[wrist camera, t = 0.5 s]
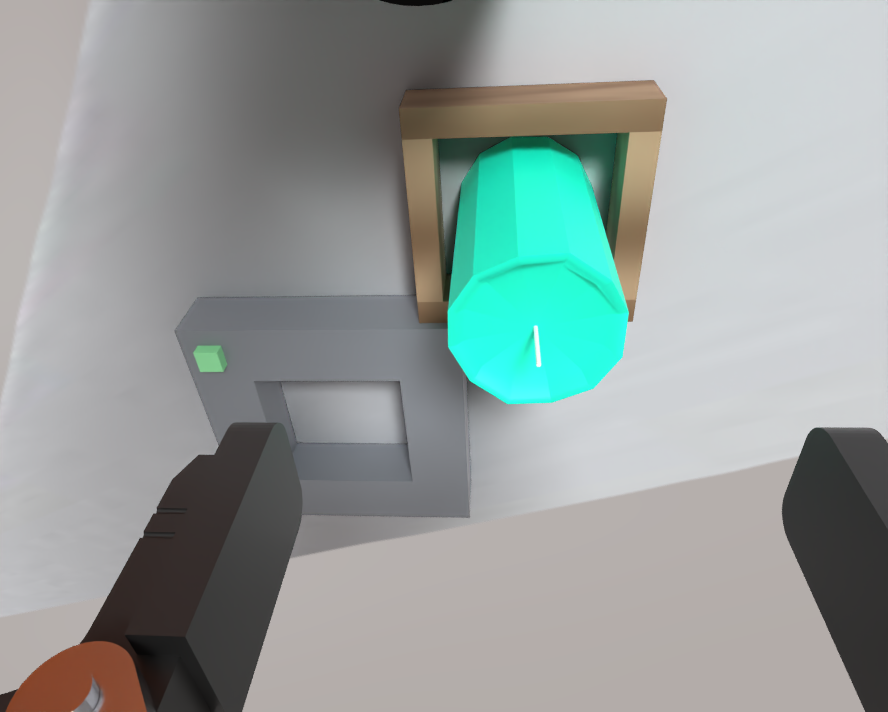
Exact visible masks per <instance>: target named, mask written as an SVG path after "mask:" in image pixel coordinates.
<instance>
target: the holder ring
mask: <svg viewBox="0 0 888 712" xmlns="http://www.w3.org/2000/svg"><path fill="white" fill-rule="evenodd" d="M666 102H667V98H666V97H665V95H664V94H663V92H662V91H661V90H660V88H659V87H658V85H657V84H656V83H655V81H654V80H648V81H622V82H597V83H572V84H546V85H521V86H496V87H470V88H445V89H419V90H406V91H405V94H404V97H403V99H402V102H401V104H400V107H399V116H400V127H401V137H402V148H403V158H404V168H405V179H406V189H407V200H408V210H409V221H410V231H411V241H412V252H413V262H414V273H415V283H416V294H417V304H418V315H419V323H448V304H449V295H450V285H451V276H452V274H446V262H445V246H444V229H443V213H442V197H441V180H440V164H439V147H438V139H445V138H475V137H506V136H536V135H567V134H597V133H617V141H616V150H615V159H614V168H613V177H612V186H611V195H610V204H609V213H608V222H607V231H606V236H607V239H608V243H609V246H610V250H611V253H612V257H613V260H614V263H615V267H616V270H617V274H618V277H619V280H620V284H621V287H622V291H623V294H624V298H625V301H626V304H627V308H628V311H629V315H628V322H631V321H633V316H634V309H635V303H636V296H637V290H638V284H639V277H640V271H641V264H642V258H643V251H644V245H645V238H646V232H647V225H648V219H649V212H650V206H651V199H652V193H653V186H654V180H655V173H656V167H657V160H658V154H659V147H660V141H661V134H662V128H663V121H664V115H665V108H666Z"/></svg>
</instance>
